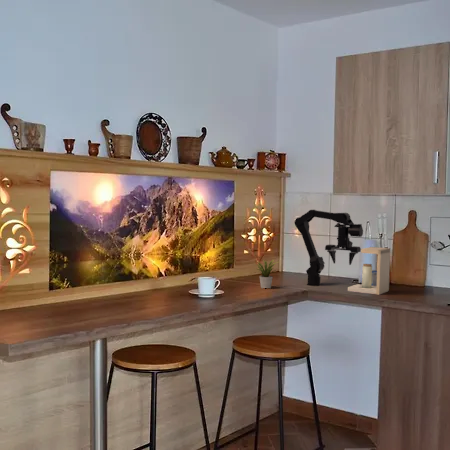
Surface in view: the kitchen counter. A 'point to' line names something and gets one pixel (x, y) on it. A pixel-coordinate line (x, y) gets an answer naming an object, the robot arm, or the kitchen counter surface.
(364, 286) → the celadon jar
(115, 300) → the kitchen counter surface
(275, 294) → the kitchen counter surface
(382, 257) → the light wood frame
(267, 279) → the house plant
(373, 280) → the medicine box
